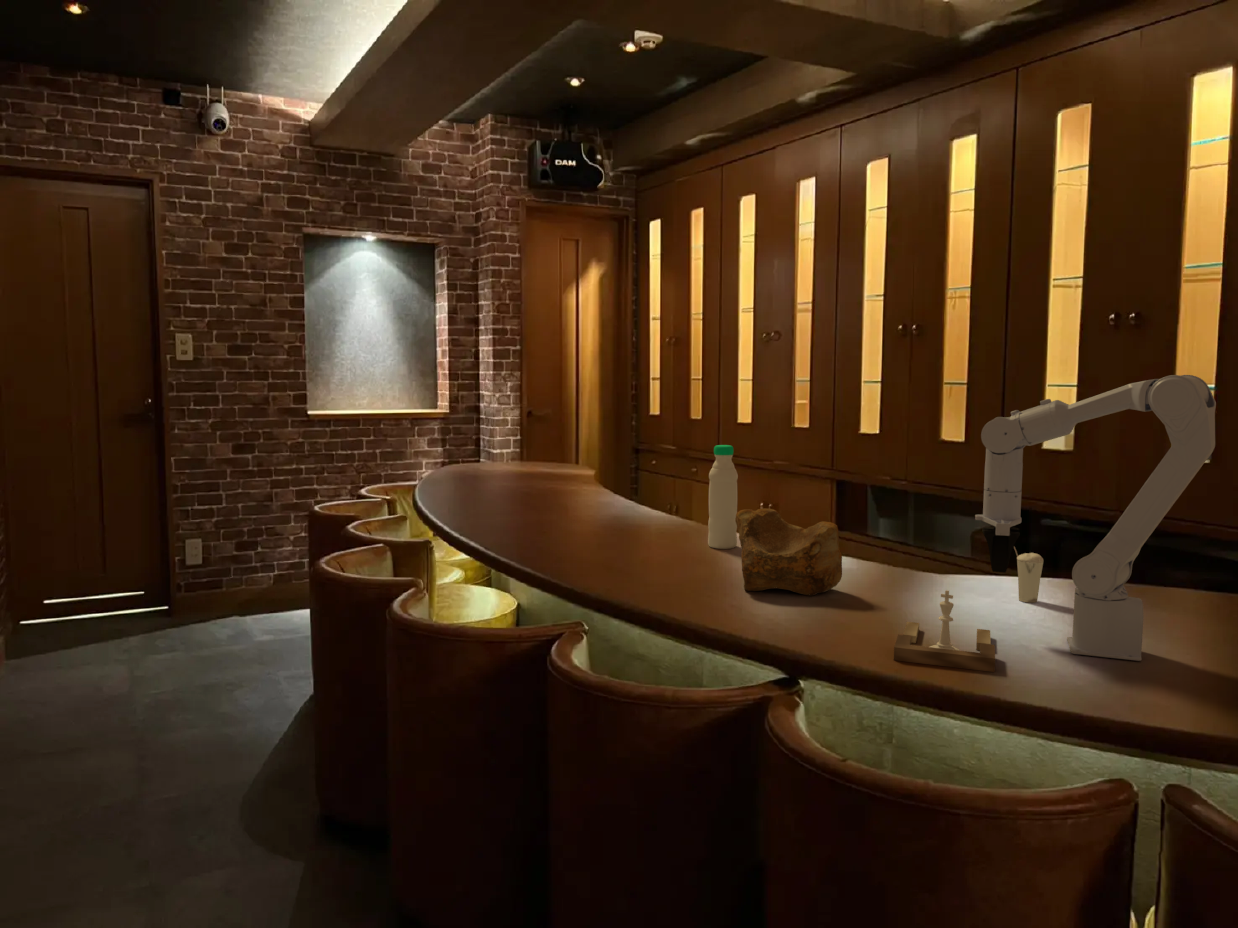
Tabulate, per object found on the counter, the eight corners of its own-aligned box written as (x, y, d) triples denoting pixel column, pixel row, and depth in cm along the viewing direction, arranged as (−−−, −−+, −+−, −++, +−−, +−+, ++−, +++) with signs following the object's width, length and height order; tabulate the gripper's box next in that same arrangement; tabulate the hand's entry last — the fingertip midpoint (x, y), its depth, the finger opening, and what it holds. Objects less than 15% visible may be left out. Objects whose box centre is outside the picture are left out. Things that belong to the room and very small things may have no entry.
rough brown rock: (702, 590, 180) (702, 518, 177) (747, 569, 193) (747, 501, 190) (805, 615, 165) (806, 536, 162) (847, 590, 178) (849, 517, 175)
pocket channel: (989, 637, 146) (990, 630, 146) (990, 651, 139) (990, 643, 139) (906, 628, 151) (906, 621, 151) (902, 641, 144) (902, 634, 144)
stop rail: (993, 657, 136) (994, 644, 136) (994, 672, 130) (995, 658, 129) (897, 646, 141) (898, 634, 141) (893, 660, 135) (894, 647, 135)
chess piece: (933, 647, 141) (936, 585, 140) (965, 653, 138) (968, 590, 137) (922, 655, 137) (925, 591, 136) (955, 661, 134) (958, 596, 133)
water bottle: (741, 545, 222) (743, 445, 219) (729, 550, 216) (730, 447, 213) (715, 542, 225) (717, 443, 223) (702, 547, 219) (704, 445, 217)
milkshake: (1016, 595, 173) (1018, 544, 172) (1045, 600, 169) (1047, 548, 168) (1006, 599, 170) (1009, 548, 169) (1035, 605, 166) (1038, 552, 165)
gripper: (976, 483, 156) (972, 560, 157) (976, 494, 142) (973, 578, 144) (1020, 485, 153) (1016, 563, 154) (1025, 496, 140) (1021, 582, 141)
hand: (999, 571), depth 149 cm, fingers closed
